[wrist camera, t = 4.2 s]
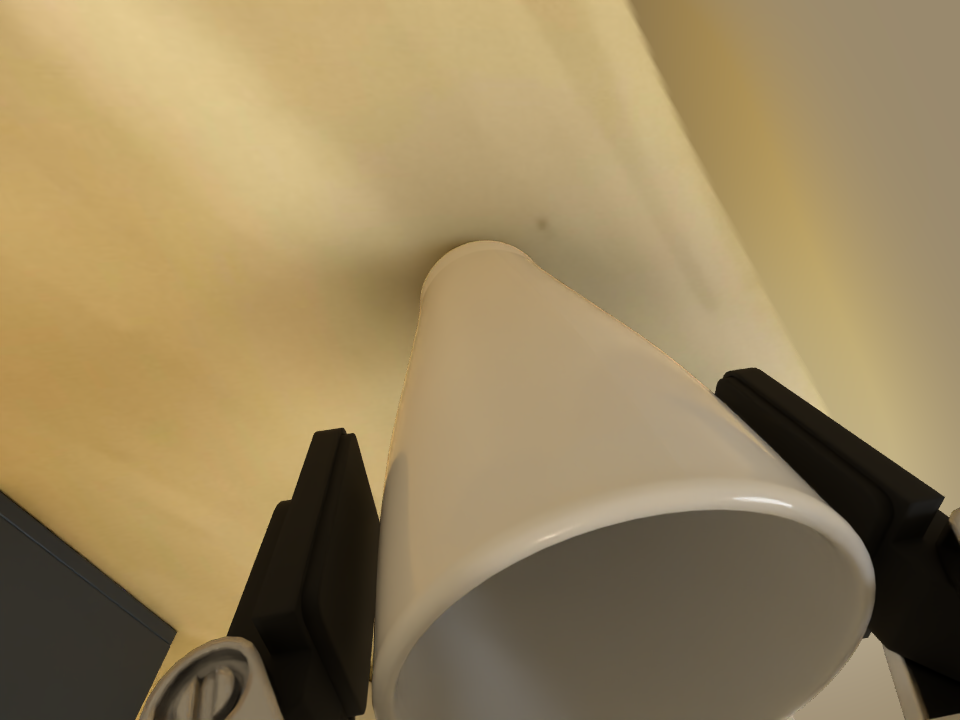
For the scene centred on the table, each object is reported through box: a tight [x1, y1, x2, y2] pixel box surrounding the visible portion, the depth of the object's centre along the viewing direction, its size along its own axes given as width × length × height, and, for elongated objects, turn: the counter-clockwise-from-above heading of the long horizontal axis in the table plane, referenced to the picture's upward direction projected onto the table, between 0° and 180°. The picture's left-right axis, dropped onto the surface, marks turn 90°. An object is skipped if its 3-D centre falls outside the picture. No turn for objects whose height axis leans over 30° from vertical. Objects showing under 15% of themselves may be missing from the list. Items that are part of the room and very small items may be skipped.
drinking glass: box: [372, 240, 876, 720], centre depth 12 cm, size 7×7×15 cm
